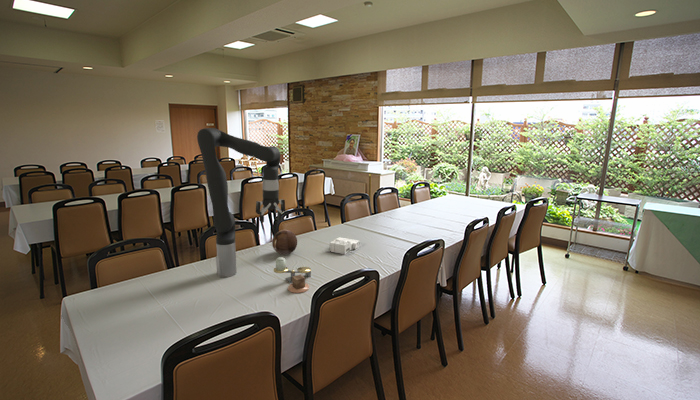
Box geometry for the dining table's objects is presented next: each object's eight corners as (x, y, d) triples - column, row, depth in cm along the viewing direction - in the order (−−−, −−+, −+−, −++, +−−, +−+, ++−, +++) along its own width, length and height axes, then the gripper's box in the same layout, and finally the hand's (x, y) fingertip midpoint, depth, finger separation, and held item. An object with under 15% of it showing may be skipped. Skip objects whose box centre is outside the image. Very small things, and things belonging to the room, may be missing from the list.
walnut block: (296, 289, 164) (296, 279, 163) (292, 286, 167) (292, 276, 166) (305, 287, 166) (304, 277, 165) (300, 283, 170) (300, 274, 169)
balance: (277, 287, 168) (277, 273, 166) (271, 282, 173) (271, 268, 172) (313, 277, 179) (313, 264, 178) (306, 273, 185) (306, 260, 183)
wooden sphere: (294, 248, 222) (294, 226, 219) (299, 256, 208) (299, 232, 205) (270, 251, 216) (270, 228, 213) (274, 259, 203) (274, 235, 200)
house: (350, 257, 208) (350, 248, 207) (323, 252, 216) (323, 243, 215) (364, 246, 228) (365, 238, 227) (340, 242, 236) (340, 233, 235)
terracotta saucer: (294, 295, 160) (294, 293, 160) (284, 287, 168) (284, 285, 168) (312, 289, 166) (312, 288, 166) (302, 282, 174) (302, 280, 174)
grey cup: (278, 271, 168) (278, 261, 166) (274, 268, 171) (274, 257, 170) (287, 269, 170) (287, 259, 169) (283, 266, 174) (282, 256, 173)
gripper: (259, 190, 159) (259, 224, 162) (287, 188, 167) (287, 221, 170) (253, 188, 165) (253, 221, 168) (281, 186, 173) (281, 217, 176)
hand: (270, 221), depth 169 cm, fingers open, 8 cm apart
